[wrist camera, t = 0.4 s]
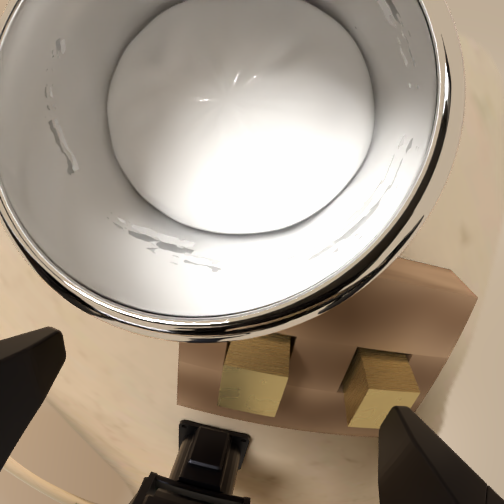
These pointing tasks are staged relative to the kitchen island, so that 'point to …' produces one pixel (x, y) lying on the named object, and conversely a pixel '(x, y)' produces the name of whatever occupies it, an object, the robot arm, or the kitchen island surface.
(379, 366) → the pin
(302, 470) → the kitchen island surface
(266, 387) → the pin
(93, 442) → the kitchen island surface
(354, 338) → the walnut block
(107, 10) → the beer glass
